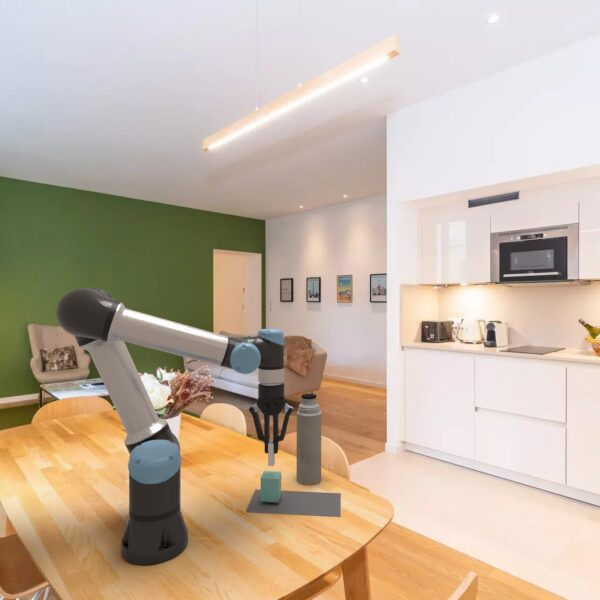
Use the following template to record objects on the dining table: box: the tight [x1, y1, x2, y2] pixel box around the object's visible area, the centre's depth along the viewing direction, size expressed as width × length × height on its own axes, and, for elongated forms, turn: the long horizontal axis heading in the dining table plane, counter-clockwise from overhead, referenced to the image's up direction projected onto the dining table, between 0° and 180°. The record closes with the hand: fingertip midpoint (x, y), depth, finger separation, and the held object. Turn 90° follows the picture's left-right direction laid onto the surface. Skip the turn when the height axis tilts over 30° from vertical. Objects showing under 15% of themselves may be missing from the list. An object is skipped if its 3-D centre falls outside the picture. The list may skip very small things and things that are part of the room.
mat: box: [245, 488, 342, 518], centre depth 123 cm, size 14×26×1 cm, turn 85°
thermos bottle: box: [296, 393, 322, 487], centre depth 138 cm, size 8×8×28 cm
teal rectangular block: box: [260, 470, 282, 502], centre depth 124 cm, size 5×5×7 cm
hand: (271, 464), depth 124 cm, fingers closed
